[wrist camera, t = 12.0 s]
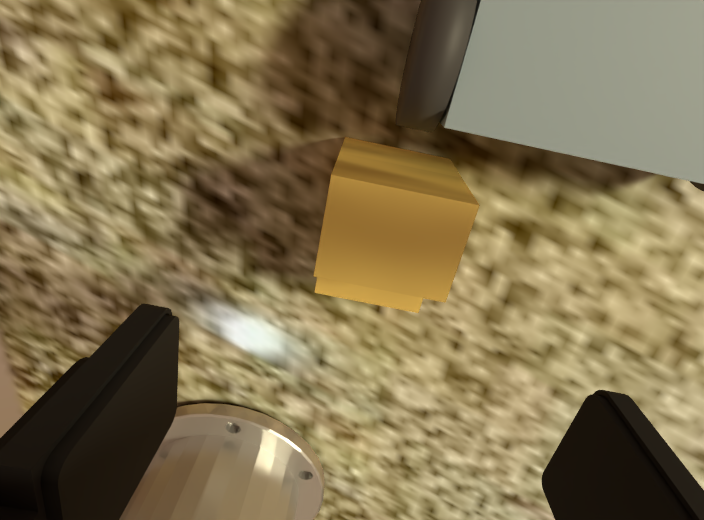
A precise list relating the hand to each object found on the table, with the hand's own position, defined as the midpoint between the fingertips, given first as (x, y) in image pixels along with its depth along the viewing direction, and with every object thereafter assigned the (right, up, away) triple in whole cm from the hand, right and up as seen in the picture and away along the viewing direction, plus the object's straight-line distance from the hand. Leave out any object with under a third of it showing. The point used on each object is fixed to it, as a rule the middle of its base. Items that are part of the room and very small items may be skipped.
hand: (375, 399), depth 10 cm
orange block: (+1, +5, +10) cm, 11 cm away
